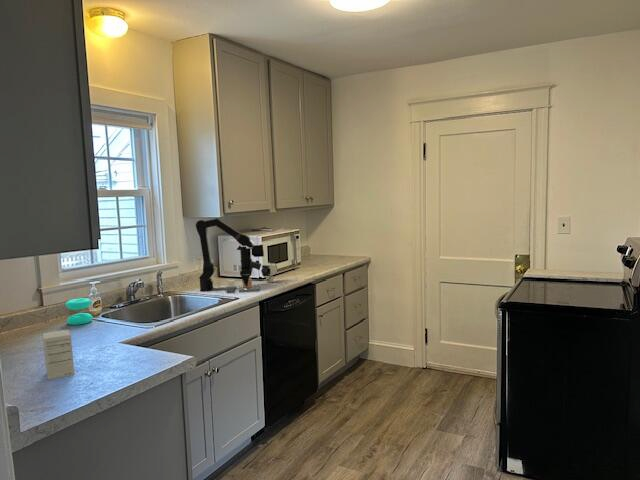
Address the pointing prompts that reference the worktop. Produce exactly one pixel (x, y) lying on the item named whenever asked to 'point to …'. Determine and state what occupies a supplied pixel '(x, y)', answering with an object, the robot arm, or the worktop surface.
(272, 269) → the pneumatic valve
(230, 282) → the block
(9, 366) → the worktop surface
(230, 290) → the ram rail
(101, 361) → the worktop surface
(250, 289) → the plate
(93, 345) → the worktop surface
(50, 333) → the supplement box
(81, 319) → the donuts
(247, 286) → the block
